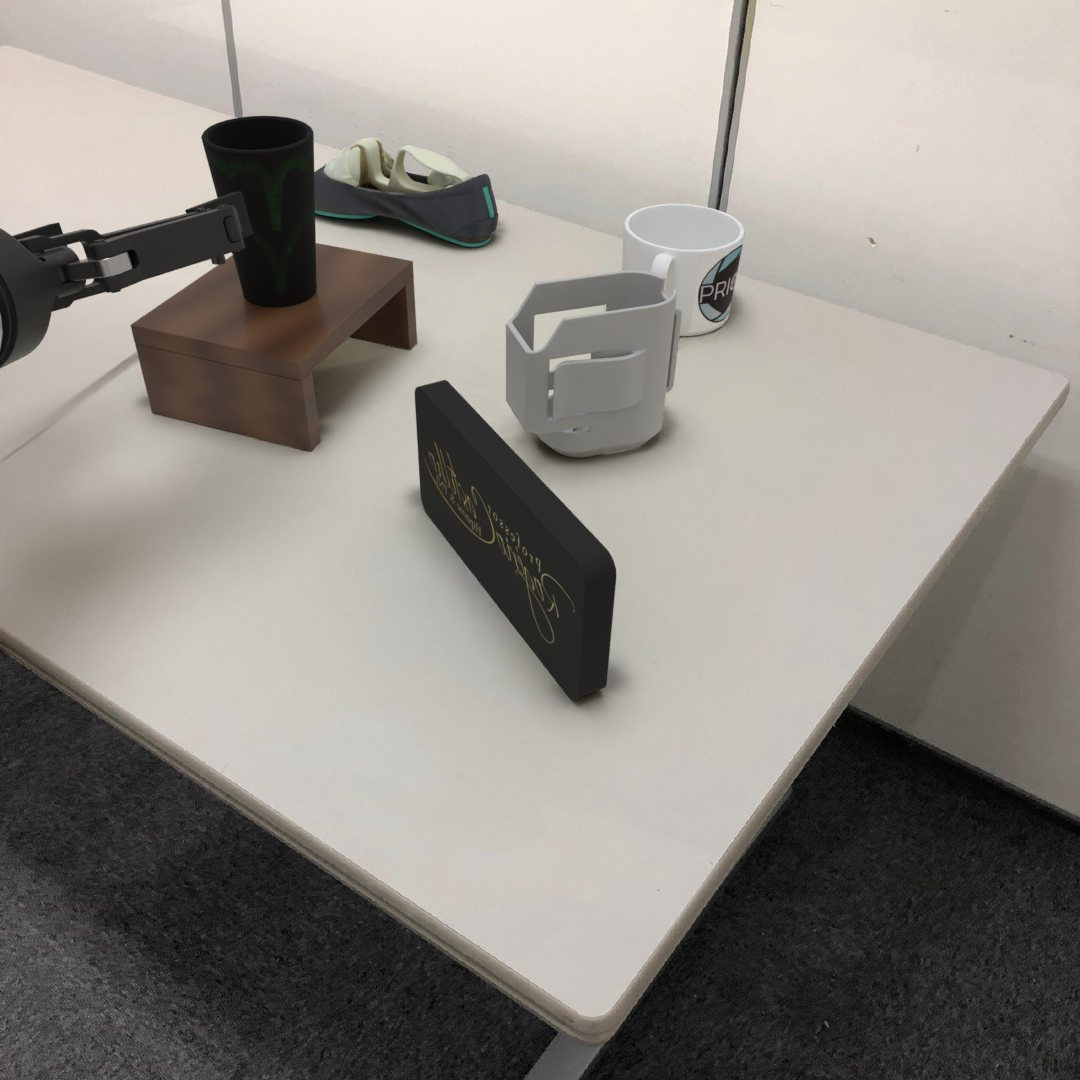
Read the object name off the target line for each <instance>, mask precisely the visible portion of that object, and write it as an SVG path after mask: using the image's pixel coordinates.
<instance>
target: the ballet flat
mask: <svg viewBox="0 0 1080 1080" xmlns="http://www.w3.org/2000/svg"><path fill="white" fill-rule="evenodd" d="M406 153H408V155H410V156H412V158H413V159H414V160H415V161H416V162H418V163H419V164H421V165H422V166H424V167H425V168H427V169H429V170H432V171H431V172H430V173H429V174H428V175H424V174H418V173H413V172H409V171H406V169H405V156H406ZM314 180H315V214H317V215H321V216H326V217H331V218H332V217H333V218H340V219H341V218H342V219H370V218H375V217H377V216H382V217H387V218H393V219H397V220H400V221H401V222H403V223H405V224H407V225H409V226H412V227H415V228H417V229H419V230H422V231H423V232H426V233H429V234H431V235H433V236H435V237H438V238H440V239H443V240H445V241H448V242H451V243H453V244H456V245H460V246H462V247H468V248H477V247H482V246H484V245H487V244H488V243H489V242H490V241H491V239H492V234H493V233H494V232H496V230H497V227H498V222H499V213H498V206H497V202H496V198H495V194H494V191H493V188H492V182H491V178H490V176H489V174H487V173H481V174H479V175H476V176H474V177H473V176H470V174H468V173H466V172H465V171H464V170H462V169H461V168H460V167H459V166H458V164H456V163H455V162H454V161H452V160H451V159H449V158H447V157H445V156H444V155H442V154H439V153H437V152H435V151H432V150H429V149H425V148H420V147H417V146H414V145H412V144H406V145H404V146H402V147H401V148H399V150H398V151H397V153H396V156H395V158H394V157H393V155H392V154H390V153H388V151H387V150H386V149H385V148H384V147H383V143H382V141H381V140H380V139H379V138H377V137H371V136H368V137H365V138H360V139H358V140H357V141H356V142H354V143H353V144H351V145H349V146H344V147H343V148H342V150H341V151H340V153H339V154H338V155H335V156H333V157H332V158H331V159H330V160H329V161H328V162H327V163H325V164H324V165H322V167H320V168H318V169H316V170H314Z"/></svg>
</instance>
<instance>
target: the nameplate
mask: <svg viewBox="0 0 1080 1080" xmlns="http://www.w3.org/2000/svg"><path fill="white" fill-rule="evenodd" d="M414 409H415V424H416V425H415V426H416V437H417V438H416V443H417V444H416V445H417V461H418V476H419V477H418V478H419V493H420V500H421V504H422V507H423V510H424V511H425V513H426V515H427V516H428V518H429V519H430V520H431V522H432V523H433V524H434V526H435V527H436V528H437V529H438V531H439V532H440V533H441V534H442V536H443V537H444V539H445V540H446V541H447V542H448V544H449V545H450V546H451V547H452V549H453V550H454V551H455V553H456V555H458V557H459V558H460V559H461V560H462V562H463V563H464V564H465V566H466V567H467V568H468V569H469V570H470V572H471V573H472V574H473V576H474V577H475V578H476V580H477V581H478V582H479V584H480V585H481V586H482V587H483V589H484V590H485V591H486V593H487V594H488V595H489V596H490V598H491V599H492V601H494V603H495V604H496V605H497V607H498V608H499V609H500V610H501V611H502V613H503V614H504V616H505V617H506V618H507V620H508V621H509V622H510V624H511V625H512V626H513V627H514V629H515V630H516V631H517V633H518V634H519V636H520V637H521V638H522V639H523V641H525V643H526V644H527V645H528V647H529V648H530V649H531V650H532V651H533V653H534V654H535V656H536V657H537V658H538V660H539V661H540V662H541V664H543V666H544V667H545V668H546V670H547V671H548V672H549V674H550V675H551V676H552V677H553V679H554V680H555V681H556V683H557V684H558V685H559V686H560V688H561V690H562V691H563V692H564V693H565V695H567V697H568V698H569V699H570V700H573V701H576V700H578V699H581V698H583V697H585V696H587V695H590V694H593V693H595V692H598V691H600V690H603V689H604V688H606V686H607V683H608V674H609V661H610V653H611V652H610V651H611V642H612V641H611V640H612V627H613V619H614V608H615V607H614V605H615V597H616V585H617V568H616V564H615V561H614V558H613V556H612V555H611V553H610V550H608V549H607V548H606V546H605V545H604V544H603V543H602V542H601V541H600V540H599V539H598V538H597V537H596V536H595V535H594V534H593V532H592V531H590V530H589V528H587V527H586V525H584V523H583V522H582V521H581V520H580V519H579V518H578V517H577V516H576V515H575V514H574V512H572V510H570V509H569V507H567V506H566V504H565V503H564V502H563V501H562V500H561V499H560V498H559V497H558V496H557V494H556V493H555V492H553V490H552V489H551V488H550V487H549V486H547V484H546V483H545V482H544V481H543V480H542V479H541V478H540V477H539V476H538V475H537V473H535V471H534V470H533V469H532V468H531V467H530V466H528V464H527V463H526V462H525V461H524V459H522V458H521V457H520V456H519V454H517V453H516V452H515V450H513V448H512V447H511V446H510V445H509V444H508V443H507V442H506V441H505V439H503V437H501V436H500V435H499V434H498V433H497V432H496V430H494V428H493V427H492V426H491V425H490V424H489V423H488V422H487V421H486V420H485V419H484V417H482V415H480V413H478V412H477V410H476V409H475V408H474V407H473V406H472V405H471V404H470V403H469V402H468V401H467V400H466V398H464V396H463V395H462V394H460V392H459V391H458V390H457V389H456V388H455V387H454V386H453V385H452V384H451V383H450V382H449V381H448V380H447V379H442V380H439V381H435V382H431V383H427V384H423V385H419V386H416V387H415V389H414Z"/></svg>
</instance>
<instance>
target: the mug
mask: <svg viewBox="0 0 1080 1080" xmlns="http://www.w3.org/2000/svg"><path fill="white" fill-rule="evenodd" d="M742 224H743V223H741V222H740V221H739V220H738V219H737V218H736V217H734V216H732V215H730V214H729V213H727V212H724V211H722V210H719V209H715V208H713V207H707V206H703V205H698V204H689V203H662V204H653V205H650V206H645V207H641V208H640V209H637V210H635V211H633V212H632V213H631V214H629V215H628V216H627V217H626V218H625V220H624V223H623V226H622V228H623V229H622V259H621V262H622V263H621V267H622V268H621V271H627V270H633V271H644V272H650V273H654V274H657V275H660V276H662V277H664V278H665V283H664V292H665V294H666V296H667V297H668V298H670V297H671V295H672V290H673V289H676V290H677V297H676V305H677V306H678V307H679V308H680V309H681V311H682V318H681V326H680V335H679V337H693V336H701V335H705V334H708V333H711V332H714V331H716V330H717V329H720V328H721V327H722V326H724V325H725V323H726V322H727V321H728V320H729V316H730V311H731V306H732V301H733V296H734V290H735V285H736V281H737V275H738V270H739V266H740V261H741V256H742V250H743V245H744V240H745V236H746V231H745V229H744V226H743V225H742Z"/></svg>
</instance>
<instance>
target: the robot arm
mask: <svg viewBox="0 0 1080 1080" xmlns="http://www.w3.org/2000/svg"><path fill="white" fill-rule="evenodd" d="M184 211H185V213H183V214H179V215H174V216H171V217H167V218H163V219H158V220H154V221H151V222H146V223H142V224H138V225H134V226H129V227H126V228H122V229H118V230H114V231H109V232H105V233H102V234H100V232H98V231H97V230H95V229H93V228H89V229H88V228H84V229H83V228H82V229H77V230H73V231H70V232H65V233H64V232H63V229H62V226H61V224H60V222H53V223H49V224H46V225H41V226H39V227H36V228H33V229H30V230H27V231H24V232H20V233H17V234H14V235H12V234H11V233H9V232H7V231H6V230H4V229H3V228H1V227H0V369H3V368H4V367H7V366H9V365H10V364H13V363H14V362H17V361H18V360H21V359H22V358H24V357H26V356H28V355H29V354H31V353H32V352H33V351H34V350H36V349H37V348H38V347H39V346H40V344H41V343H42V341H43V340H44V338H45V337H46V335H47V332H48V330H49V326H50V322H51V317H52V313H53V312H56V311H60V310H63V309H67V308H69V307H71V306H72V305H73V303H74V302H76V301H78V300H83V299H85V298H89V297H93V296H96V295H100V294H105V293H107V294H109V293H111V294H116V293H119V292H122V290H123V289H126V288H129V287H130V286H134V285H135V284H138V283H141V282H143V281H146V280H149V279H153V278H155V277H158V276H161V275H165V274H168V273H171V272H175V271H178V270H181V269H184V268H187V267H191V266H194V265H196V264H199V263H202V262H206V261H209V260H210V261H211V265H216V266H217V265H219V264H220V265H222V264H225V263H226V259H227V258H226V256H225V255H229V254H232V253H237V252H240V250H243V249H244V248H245V245H244V241H243V238H245V237H247V236H249V235H251V234H253V230H252V227H251V223H250V220H249V216H248V213H247V209H246V206H245V202H244V198H243V195H242V191H240V192H234V193H230V194H227V195H224V196H222V197H219V198H217V197H215V198H213V199H211V200H208V201H205V202H203V203H200V204H197V205H194V206H192V207H189V208H186V209H185V210H184ZM76 243H80V244H81V245H82V247H83V251H84V254H85V257H86V258H84V259H80V258H79V255H78V254H77V253H76V252H75V251H74V250H73V249H72V248H71V247H69V246H68V245H72V244H76ZM87 280H92V282H91V283H87Z"/></svg>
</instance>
